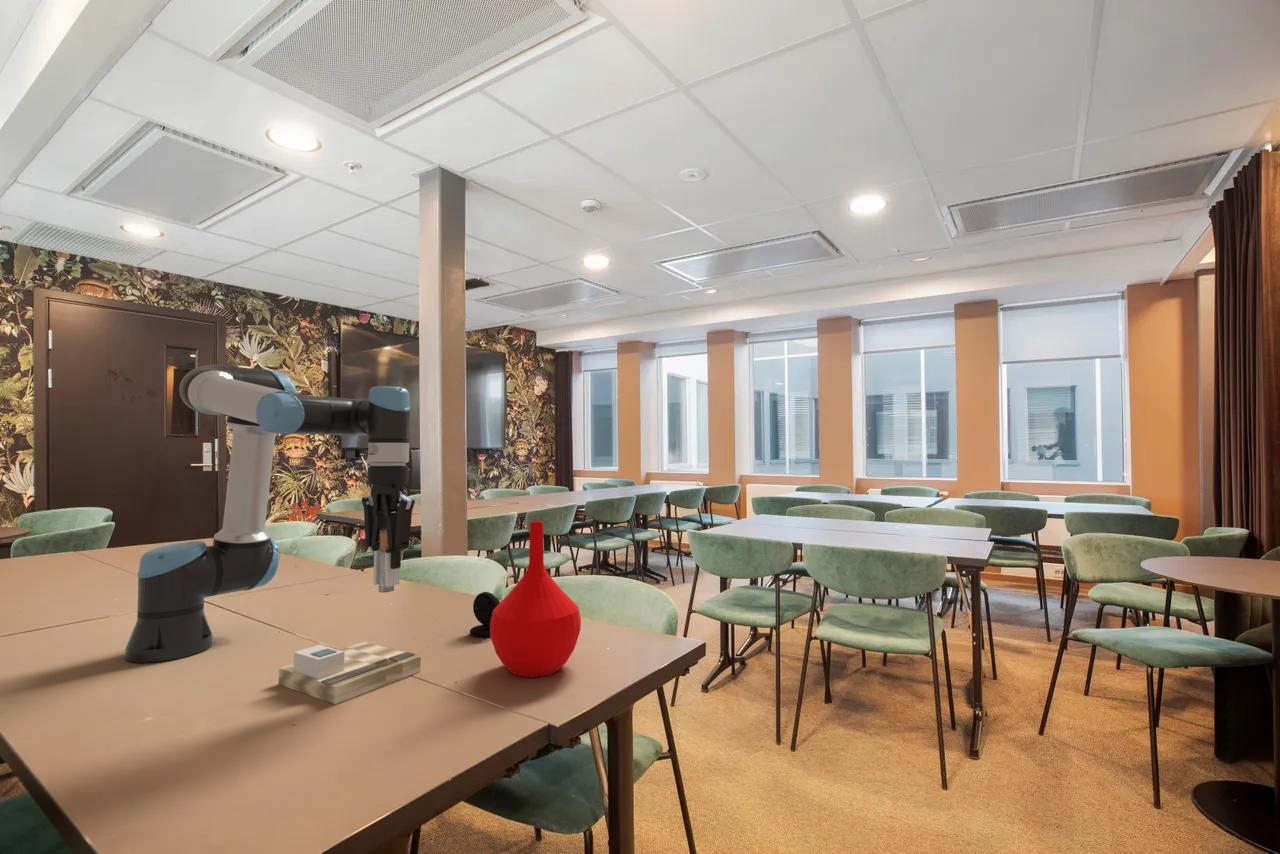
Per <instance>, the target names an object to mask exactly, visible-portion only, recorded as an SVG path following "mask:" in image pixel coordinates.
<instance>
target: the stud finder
mask: <svg viewBox="0 0 1280 854" xmlns="http://www.w3.org/2000/svg"><path fill="white" fill-rule="evenodd" d="M293 664H294V666H293V671H295V672H298V673H301V674H304V675H307V676H310V677H313V678H316V679H321V678H324V677H327V676H329V675H332V674H335V673H338V672H341V671H344V651H340V649H335V648H332V647H329V646H325V645H323V644H317V645H314V646H311V647H307V648H303V649H300V650H297V651H293Z"/></svg>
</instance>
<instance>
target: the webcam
mask: <svg viewBox="0 0 1280 854" xmlns="http://www.w3.org/2000/svg"><path fill="white" fill-rule="evenodd" d="M500 602H501V601H500V600H499V598H497V597H496V596H495V595H494V594H493V593H491V592H489V591H482V592H480V593H478V594H477V595H476V596H475V598H474V601H473V606H472V607H473V608H472V609H473V614H474V616H475V619H476V620H477V621H478V622H479V623H480V624H479V625H476V626H473V627H471V628H470V630H469V635H470V636H472V637H473V638H479V639H480V638H482V639H484V638H485V639H486V638H491V636H490V622H491V617H492V613H493V610H494V609H495V608H496V607H497V605H498V604H499V603H500Z"/></svg>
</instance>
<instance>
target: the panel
mask: <svg viewBox="0 0 1280 854" xmlns="http://www.w3.org/2000/svg"><path fill="white" fill-rule="evenodd" d="M339 650H340V651H344V671H341V672H338V673H335V674H332V675H329V676H327V677H324V678H321V679H316V678H313V677H310V676H307V675H304V674H301V673H298V672H295V671H293V666H294V663H291V664H288V665H285V666H282V667H279V668H278V685H280V686H283V687H286V688H288V689H291V690H295V691H297V692H299V693H303V694H305V695H308V696H311V697H314V698H316V699H318V700H322V701H324V702H328V703H330V704H333V705H337V704H339V703H343V702H346V701H348V700H350V699H353V698H355V697H359V696H361V695H363V694H366V693H369V692H372V691H373V690H376V689H379V688H381V687H384V686H386V685H389V684H391V683H394V682H396V681H399V680H402V679H404V678H407V677H409V676H412V675H415V674H418V673H420V672H421V660H422V659H421V656H420V655H416V654H415V653H413V652H409V651H402V650H397V649H394V648H389V647H385V646H383V645H378V644H374V643H370V642H367V641H363V642H360V643H357V644H353V645H351V646H347V647H344V648H343V647H342V648H340V649H339Z"/></svg>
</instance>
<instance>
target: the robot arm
mask: <svg viewBox="0 0 1280 854" xmlns="http://www.w3.org/2000/svg"><path fill="white" fill-rule="evenodd" d="M368 391H369V392H368V397H367V398H360V399H358V398H357V399H356V398H345V397H335V396H334V397H332V396H320V395H319V396H318V395H310V394H309V395H308V394H301V393H297V389H296V386H295V384H294V383H293V379H291V378H290V376H288V374H285V373H284V372H280V371H276V370H271V369H270V370H269V369H261V368H250V367H244V366H243V367H241V366H233V365H232V366H230V365H225V364H207V365H201V366H198V367H195V368H194V369H192V370H190V371H188V372H187V373H186V374H185V375H184V376H183V378H182V379H181V381H180V383H179V396H180V398H181V400H182V402H183V404H185V405H186V406H187V407H188V408H189V409H191V410H193V411H195V412H198V413H201V414H206V415H212V416H213V415H214V416H222V417H227V418H226V424H227V425H228V426H229V427H230V428H231V429H232V430H233V433H232V441H231V449H230V458H229V468H228V476H227V477H228V478H227V485H226V486H227V487H226V494H225V495H226V497H225V504H224V513H223V522H222V528H221V529H220V530H219V531H218V532H217V533H215V534H213V535H214V536H213V540H212V541H213V542H212V545H209V546H207V544H206V543H205V541H202V540H191V541H186V542H185V541H184V542H177V543H171V544H167V545H162V546H159V547H155V548H152V549H149V550H147V551H146V552H145V553H143V554H142V555H141V557H140V560H139V566H138V571H137V579H138V583H137V586H138V587H137V613H136V614H137V617H136V623H135V625H134V627H133V629H132V633H131V634H130V637H129V639H128V641H127V644H126V647H125V649H124V650H125V654H124V659H125V661H126V662H130V663H136V664H137V663H140V664H141V663H156V662H165V661H171V660H176V659H181V658H185V657H190V656H193V655H196V654H198V653H201V652H204V651H207V650H208V649H210V648H211V647H212V646H213V633H212V630H211V628H210V625H209V622H208V619H207V617H206V614H205V598H209V597H214V596H215V597H216V596H220V595H224V594H230V593H237V592H242V591H243V592H244V591H251V590H253V589H256V588H260V587H263V586H265V585H267V584H268V583H269V582H271V581H272V579H274V577H275V575H276V574H277V571H278V569H279V565H280V559H281V557H280V552H279V548H280V547H279V546H278V544H277V542H276V541H275V540H273V539H271V538H272V535H271V534H272V533H270V532H269V531H268V530H267V529H266V520H267V512H268V511H267V510H268V503H269V496H270V495H269V493H270V487H271V478H272V477H271V475H272V469H273V462H274V461H273V460H274V451H275V441H276V434H278V435H279V434H280V435H291V434H292V435H323V436H325V435H327V436H328V435H329V436H342V437H352V438H353V437H357V436H360V437H361V436H367V438H368V439H367V443H368V445H367V447H368V449H367V453H368V454H367V462H368V463H369V464H371V465H368V467H367V478H366V482H367V484H368V485H369V486H372V488H371V491H370V495H367V496H363V497H362V498H361V503H362V507H363V517H364V518H363V519H364V521H363V522H364V539H365V541H364V544H365V546H366V547H370V549H371V550H372V551H373V552H372V566H373V585H375V586H376V585H379V539H380V529H387V537H388V550H385V552H386V553H385V587H389V586H393V585H394V586H397V585H400V568H401V565H402V561H401V560H402V559H401V558H402V551H403V550H406V549H409V548H410V541H411V529H412V517H413V509H414V507H415V503H416V500H415V498H409V497H408V496H407V495H406V491H405V485H407V484H409V476H410V475H409V467H408V465H406V463H407V464H408V463H409V462H410V419H411V418H410V416H411V415H410V413H411V412H410V411H411V406H410V405H411V404H410V392H409V391H408V390H407V389H406V388H404V387H400V386H387V385H382V386H381V385H380V386H373V387H371V388H370V389H369V390H368Z"/></svg>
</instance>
